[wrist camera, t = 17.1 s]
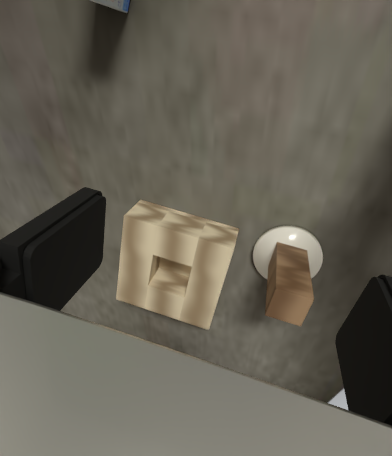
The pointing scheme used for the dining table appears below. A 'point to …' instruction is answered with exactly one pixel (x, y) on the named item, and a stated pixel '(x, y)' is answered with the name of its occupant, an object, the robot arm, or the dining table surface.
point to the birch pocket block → (174, 262)
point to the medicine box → (115, 4)
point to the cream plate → (290, 237)
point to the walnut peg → (289, 284)
